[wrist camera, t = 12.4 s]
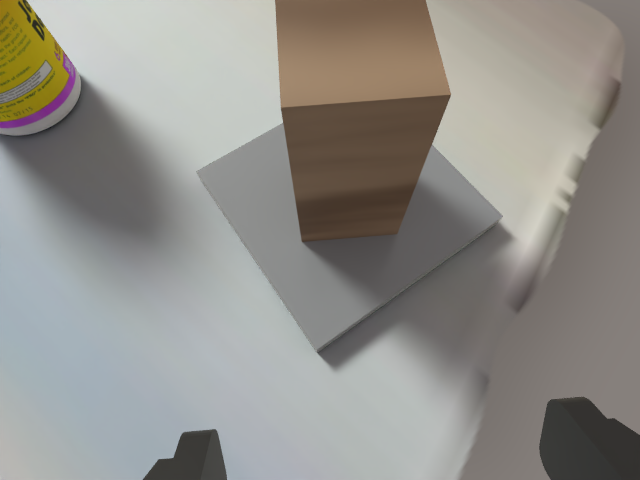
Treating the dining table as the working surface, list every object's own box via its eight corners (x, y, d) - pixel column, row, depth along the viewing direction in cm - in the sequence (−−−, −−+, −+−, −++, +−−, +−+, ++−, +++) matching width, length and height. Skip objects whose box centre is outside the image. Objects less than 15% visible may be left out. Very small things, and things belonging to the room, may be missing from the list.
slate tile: (317, 352, 20) (316, 349, 19) (201, 181, 24) (196, 171, 23) (495, 224, 22) (503, 216, 21) (363, 88, 26) (365, 77, 25)
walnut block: (397, 234, 21) (451, 94, 12) (301, 241, 21) (280, 107, 12) (383, 154, 23) (420, -18, 14) (296, 161, 23) (274, -8, 14)
